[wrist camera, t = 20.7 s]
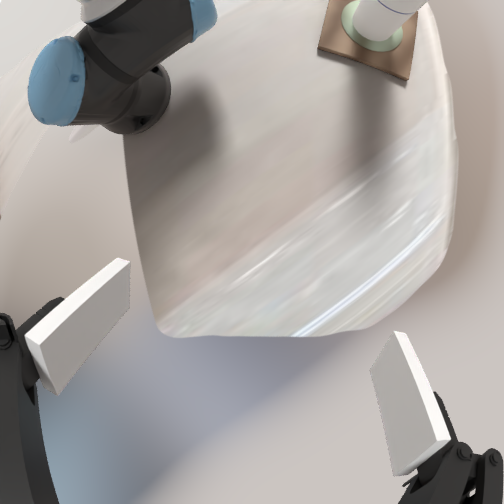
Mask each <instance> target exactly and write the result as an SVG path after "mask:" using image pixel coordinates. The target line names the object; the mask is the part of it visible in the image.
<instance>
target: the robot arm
mask: <svg viewBox="0 0 504 504" xmlns="http://www.w3.org/2000/svg"><path fill="white" fill-rule="evenodd" d="M77 1H79V2H80V3H81V5H82V8H81V20H82V21H83V22H84V23H86V24H87V25H86V26H85V27H84V28H83V29H82V30H81V31H80V32H79V33H78V34H77V35H76V36H75V37H74V38H73V37H71V36H65V37H60V38H59V39H54V40H53V41H51V42H50V43H49V44H48V45H46V46H45V47H44V49H43V50H42V51H41V52H40V54H39V55H38V57H37V59H36V61H35V63H34V65H33V68H32V70H31V74H30V77H29V85H28V102H29V106H30V109H31V111H32V113H33V115H34V117H35V118H36V119H37V120H38V121H40V122H41V123H43V124H47V125H57V126H68V125H93V124H100V125H102V126H103V127H105V128H106V129H108V130H109V131H112V132H114V133H117V134H136V133H140V132H142V131H145V130H146V129H148V128H150V127H151V126H152V125H154V124H155V123H156V122H157V121H158V119H159V118H160V117H161V116H162V114H163V113H164V111H165V109H166V107H167V105H168V102H169V98H170V92H171V84H170V79H169V76H168V73H167V71H166V70H165V68H164V67H163V66H162V65H161V64H160V63H161V62H162V61H163V60H165V59H166V58H167V57H169V56H170V55H172V54H173V53H175V52H176V51H178V50H179V49H180V48H182V47H183V46H185V45H187V44H188V43H192V42H194V41H195V40H196V38H197V37H199V36H200V35H202V34H203V33H205V32H206V31H208V30H210V29H211V28H212V27H213V26H214V25H215V23H216V21H217V11H216V8H215V5H214V2H213V0H77ZM129 297H130V261H127V260H124V259H121V258H118V257H117V258H116V259H115V260H113V261H112V262H111V263H109V264H108V265H107V266H106V267H104V268H103V269H102V270H101V271H99V272H98V273H97V274H95V275H94V276H93V277H92V278H90V279H89V280H88V281H87V282H85V283H84V284H83V285H82V286H80V287H79V288H78V289H77V290H76V291H74V292H73V293H72V294H71V295H70V296H68V297H67V298H66V299H64V298H62V297H59V298H56V299H54V300H51V301H49V302H48V303H47V304H46V305H45V306H43V307H42V309H40V310H39V311H37V312H36V314H34V315H33V316H31V317H30V318H29V319H28V320H27V321H26V322H25V323H23V324H22V325H21V326H20V327H19V328H18V329H17V330H15V327H14V324H13V320H12V319H11V318H10V316H9V315H7V314H5V313H0V504H59V502H58V498H57V495H56V492H55V488H54V485H53V482H52V478H51V474H50V470H49V466H48V461H47V457H46V452H45V447H44V442H43V436H42V429H41V423H40V415H39V407H38V396H37V387H36V382H37V380H38V379H39V378H40V380H41V382H42V384H43V387H44V388H46V389H48V390H49V391H50V392H52V393H54V394H55V395H57V396H58V395H59V394H60V393H61V391H62V390H63V389H64V387H65V386H66V385H67V384H68V382H69V381H70V380H71V378H72V377H73V376H74V375H75V373H76V372H77V371H78V370H79V368H80V367H81V366H82V365H83V363H84V362H85V361H86V359H87V358H88V357H89V356H90V355H91V353H92V352H93V351H94V349H95V348H96V347H97V346H98V345H99V343H100V342H101V341H102V340H103V339H104V338H105V336H106V335H107V334H108V333H109V332H110V330H111V329H112V328H113V327H114V326H115V324H116V323H117V322H118V321H119V320H120V319H121V317H122V316H123V315H124V314H125V313H126V312H127V310H128V309H129V304H130V302H129V301H130V300H129ZM370 373H371V377H372V380H373V384H374V388H375V392H376V396H377V400H378V405H379V409H380V413H381V417H382V422H383V426H384V430H385V435H386V440H387V445H388V450H389V455H390V461H391V466H392V472H393V476H402V475H408V474H409V473H411V472H412V471H414V470H415V469H416V468H417V470H418V474H417V475H415V476H414V477H412V478H411V479H410V480H408V481H407V482H405V483H404V484H403V485H402V486H403V487H405V486H406V485H407V484H409V483H410V485H409V486H408V488H407V490H406V491H405V493H404V495H403V496H402V498H401V500H400V501H399V503H398V504H502V498H503V459H502V456H501V454H500V452H499V451H498V450H496V449H493V448H491V449H488V450H487V451H486V452H485V453H484V454H483V455H478V454H474V453H473V451H472V450H471V448H470V447H469V446H468V445H467V444H466V443H463V442H458V440H457V437H456V434H455V432H454V429H453V426H452V423H451V421H450V418H449V417H448V414H447V411H446V410H445V406H444V404H443V401H442V399H441V398H440V397H439V396H438V394H437V393H436V392H433V391H432V389H431V386H430V384H429V382H428V380H427V377H426V375H425V373H424V370H423V368H422V366H421V364H420V362H419V360H418V358H417V355H416V353H415V351H414V349H413V347H412V345H411V343H410V341H409V339H408V337H407V335H406V333H402V332H397V331H393V333H392V335H391V336H390V339H389V340H388V342H387V343H386V345H385V347H384V348H383V350H382V352H381V353H380V355H379V356H378V358H377V359H376V361H375V363H374V364H373V366H372V368H371V369H370ZM475 488H476V491H475V494H474V495H472V496H471V497H470V496H469V494H470V492H471V491H472V490H474V489H475Z"/></svg>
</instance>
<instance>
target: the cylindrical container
mask: <svg viewBox="0 0 504 504" xmlns="http://www.w3.org/2000/svg"><path fill="white" fill-rule="evenodd" d="M427 1H428V0H360V2H359V4H358V6H357V8H356V10H355V12H354V14H353V16H352V23H353V26H354V27H355V29H356V30H357V32H358V33H359V34H361V35H362V36H363V37H365V38H367V39H369V40H372V41H384V40H387V39H388V38H389V37H390V36H391V35H392V34H393V33H394V32H395V31H396V30H397V29H398V28H400V27H401V26H402V25H403V24H404V23H405V22H406V21H407V20H408V19H409V18H410V17H411V16H412V15H413V14H414V13H415V12H416V11H417V10H419V9H420V8H421V7H422V6H423V5H424V4H425V3H426V2H427Z"/></svg>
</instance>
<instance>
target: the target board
mask: <svg viewBox="0 0 504 504" xmlns="http://www.w3.org/2000/svg"><path fill="white" fill-rule="evenodd" d="M359 2H360V0H329V3H328V7H327V11H326V16H325V20H324V24H323V28H322V32H321V36H320V40H319V44H318V48H317V49H320V50H324V51H327V52H331V53H334V54H337V55H340V56H343V57H346V58H349V59H352V60H355V61H358V62H361V63H364V64H366V65H369V66H372V67H374V68H377V69H379V70H382V71H384V72H387V73H389V74H391V75H394V76H396V77H398V78H400V79H403V80H405V81H406V80H408V79H409V76H410V70H411V64H412V58H413V51H414V44H415V36H416V28H417V18H418V11H416V12H415V13H414V14H413V15H412V16H411V17H410V18H409V19H408V20H407V21H406V22H405V23H404V24H403V25H402V26H401V27H400V28H398V29H397V30H396V31H395V32H394V33H393V34H392V35H391V36H390V37H389V38H388V39H387V40H384V41H372V40H369V39H367V38H365V37H363V36H362V35H361V34H359V33H358V32H357V30H356V29H355V27H354V26H353V23H352V16H353V14H354V12H355V10H356V8H357V6H358V4H359Z"/></svg>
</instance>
